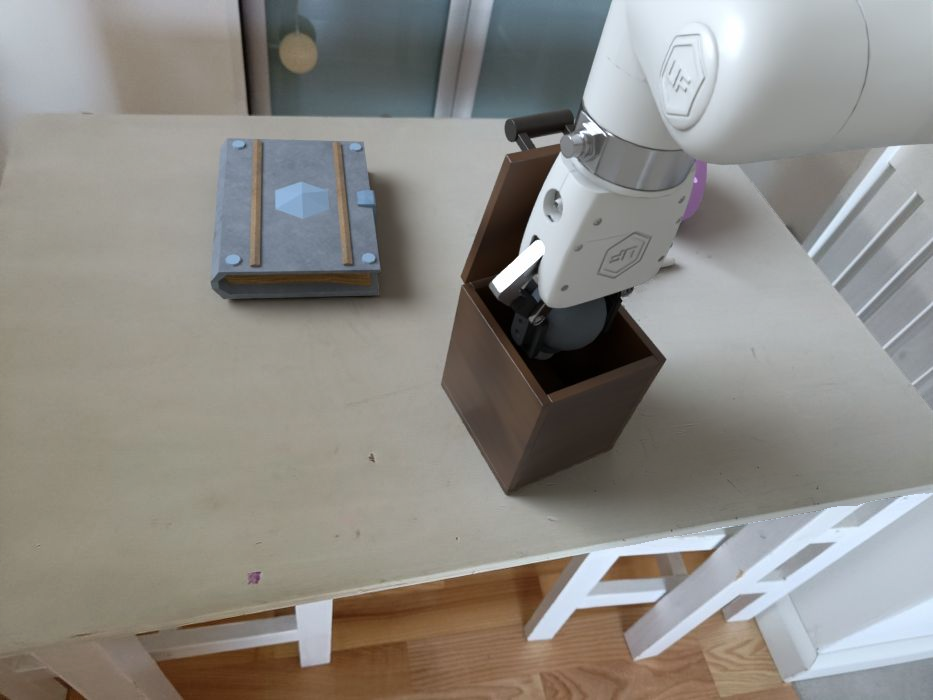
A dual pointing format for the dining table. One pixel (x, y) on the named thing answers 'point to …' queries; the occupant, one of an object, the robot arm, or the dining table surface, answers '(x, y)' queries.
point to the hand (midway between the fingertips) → (559, 330)
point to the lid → (515, 193)
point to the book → (294, 220)
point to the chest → (541, 390)
